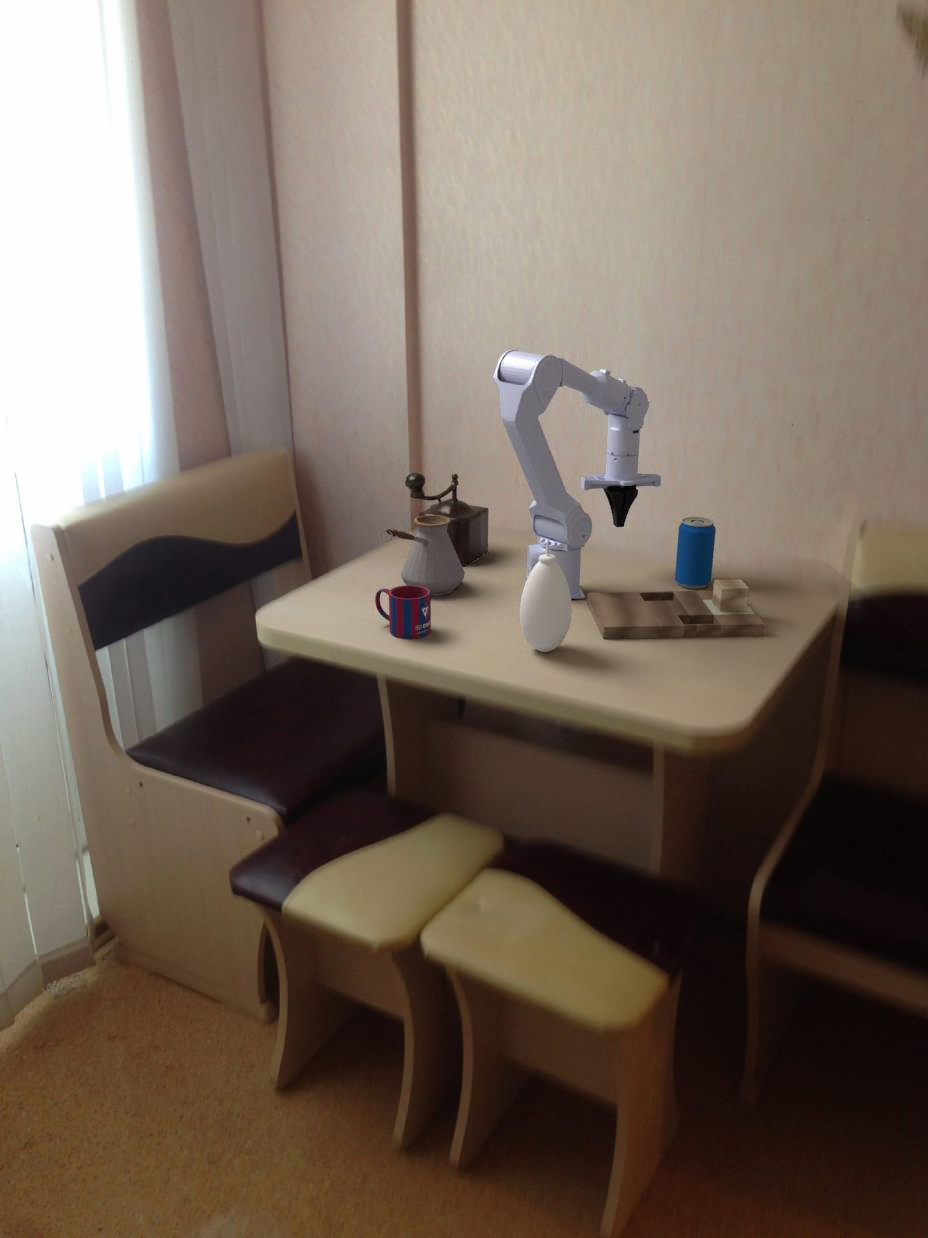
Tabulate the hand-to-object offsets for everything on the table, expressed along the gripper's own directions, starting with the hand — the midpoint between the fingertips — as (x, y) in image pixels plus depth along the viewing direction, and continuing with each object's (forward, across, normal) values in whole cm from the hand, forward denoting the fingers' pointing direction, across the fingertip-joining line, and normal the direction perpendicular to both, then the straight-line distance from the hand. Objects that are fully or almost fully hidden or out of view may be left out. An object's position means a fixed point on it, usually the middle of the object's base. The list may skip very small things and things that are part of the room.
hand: (618, 525), depth 198 cm
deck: (+9, +2, -24) cm, 26 cm away
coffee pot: (+10, -38, -5) cm, 40 cm away
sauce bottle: (+10, -23, -33) cm, 41 cm away
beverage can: (+10, +12, -8) cm, 17 cm away
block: (+7, +11, -25) cm, 28 cm away
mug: (+10, -43, -20) cm, 48 cm away
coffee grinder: (+10, -30, +15) cm, 34 cm away
